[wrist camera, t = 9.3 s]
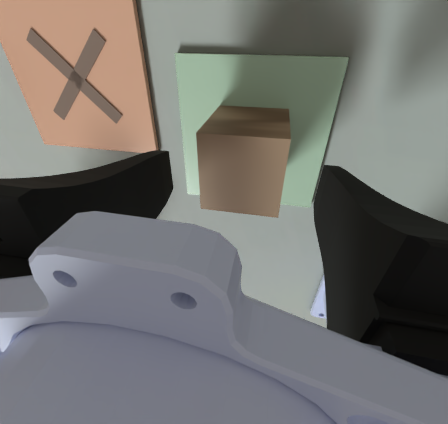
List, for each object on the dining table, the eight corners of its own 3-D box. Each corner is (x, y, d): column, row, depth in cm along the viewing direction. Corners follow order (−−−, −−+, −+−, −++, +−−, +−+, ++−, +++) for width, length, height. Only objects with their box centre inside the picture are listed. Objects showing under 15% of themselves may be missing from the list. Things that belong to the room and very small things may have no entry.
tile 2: (347, 57, 13) (349, 57, 12) (309, 204, 18) (310, 207, 18) (177, 52, 14) (174, 53, 14) (189, 191, 19) (187, 193, 19)
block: (289, 108, 14) (290, 139, 10) (279, 172, 16) (277, 217, 12) (219, 105, 15) (195, 132, 11) (220, 167, 17) (200, 208, 13)
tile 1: (132, -20, 12) (127, -21, 12) (159, 151, 18) (156, 154, 17) (-18, -16, 14) (-27, -18, 13) (48, 142, 19) (43, 144, 19)
